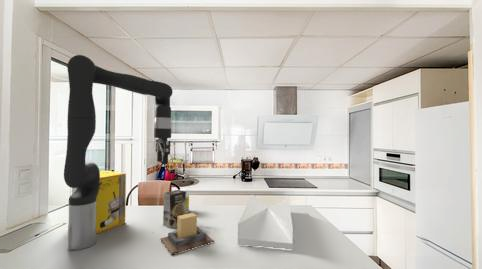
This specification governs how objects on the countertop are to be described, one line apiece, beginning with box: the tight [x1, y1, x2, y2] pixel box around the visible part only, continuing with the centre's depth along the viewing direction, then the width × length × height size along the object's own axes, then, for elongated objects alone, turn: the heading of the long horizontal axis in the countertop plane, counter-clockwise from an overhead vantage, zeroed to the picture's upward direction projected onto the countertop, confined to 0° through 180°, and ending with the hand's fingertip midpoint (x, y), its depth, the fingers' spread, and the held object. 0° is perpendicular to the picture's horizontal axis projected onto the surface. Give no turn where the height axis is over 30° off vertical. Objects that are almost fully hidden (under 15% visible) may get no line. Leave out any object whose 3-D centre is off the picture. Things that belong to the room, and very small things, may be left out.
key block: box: [176, 212, 198, 239], centre depth 96 cm, size 4×7×10 cm, turn 126°
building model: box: [237, 194, 294, 250], centre depth 114 cm, size 45×22×10 cm, turn 170°
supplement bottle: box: [179, 188, 190, 214], centre depth 131 cm, size 7×7×13 cm
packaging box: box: [71, 170, 127, 235], centre depth 110 cm, size 16×16×25 cm
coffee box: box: [162, 189, 186, 229], centre depth 114 cm, size 9×6×16 cm
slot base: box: [160, 226, 215, 256], centre depth 96 cm, size 18×14×4 cm
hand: (162, 162), depth 105 cm, fingers open, 8 cm apart
